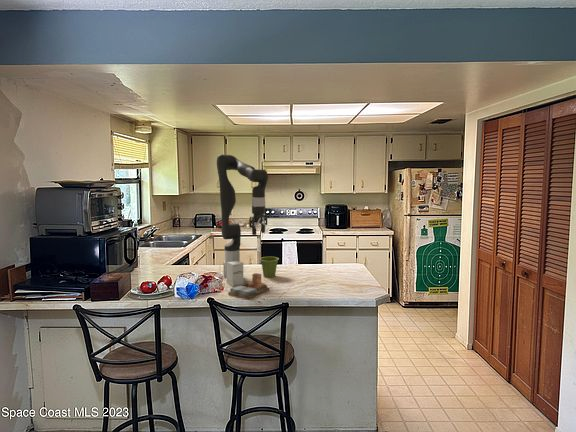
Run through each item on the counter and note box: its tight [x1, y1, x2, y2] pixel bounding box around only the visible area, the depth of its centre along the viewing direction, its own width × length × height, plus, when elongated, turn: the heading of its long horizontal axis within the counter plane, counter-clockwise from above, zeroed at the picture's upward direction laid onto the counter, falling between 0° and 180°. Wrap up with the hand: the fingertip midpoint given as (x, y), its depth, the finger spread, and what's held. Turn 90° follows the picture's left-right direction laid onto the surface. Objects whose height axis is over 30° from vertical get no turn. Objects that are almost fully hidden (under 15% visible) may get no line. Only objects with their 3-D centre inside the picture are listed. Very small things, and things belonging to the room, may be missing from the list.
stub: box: [247, 272, 266, 288], centre depth 221 cm, size 9×4×7 cm, turn 59°
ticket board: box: [227, 282, 270, 300], centre depth 216 cm, size 14×18×4 cm
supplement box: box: [226, 261, 244, 287], centre depth 232 cm, size 7×7×13 cm
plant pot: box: [259, 256, 280, 278], centre depth 249 cm, size 12×12×11 cm
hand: (258, 233), depth 226 cm, fingers open, 8 cm apart
